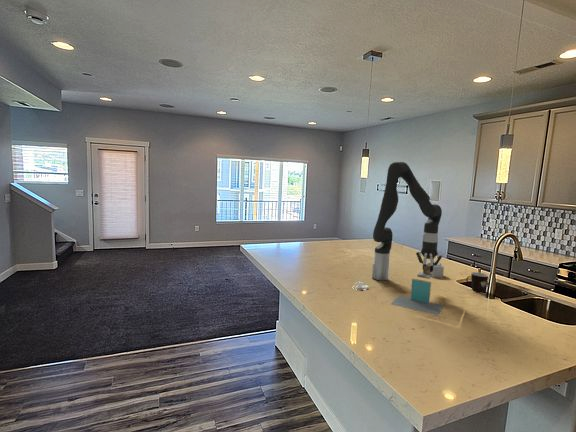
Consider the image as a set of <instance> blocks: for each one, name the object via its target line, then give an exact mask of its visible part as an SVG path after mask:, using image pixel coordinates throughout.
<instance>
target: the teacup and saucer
mask: <svg viewBox="0 0 576 432" xmlns="http://www.w3.org/2000/svg"><path fill="white" fill-rule="evenodd" d="M354 286H356V287H355V289H354V288H353V287H354ZM352 289H353V290H356V291H358V290H363V291H367V289H369V285H363V281H359V280H358V281H356V282H355V284H354V285H353V286H352ZM357 289H358V290H357Z"/></svg>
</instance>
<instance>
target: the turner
mask: <svg viewBox="0 0 576 432" xmlns="http://www.w3.org/2000/svg"><path fill="white" fill-rule="evenodd" d="M430 266H431V263H427V264H426V266H424V268H423V267H422V272H421V271H420V272H419V273H417V274H416V275H417V277H418V278H422V279H427V280H429V279H431V278H432V277H431V276H432V274H430V273H431V272H430Z"/></svg>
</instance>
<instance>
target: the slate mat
mask: <svg viewBox="0 0 576 432" xmlns="http://www.w3.org/2000/svg"><path fill="white" fill-rule="evenodd" d="M390 305H394V306H398V307H402V308H406V309H410V310H413V311H418V312H422V313H426V314H429V315H434V316H435V315H436V316H439V314H440V313H441V310H442V309H443V307H444V304H441V303H436V302H432V301H430V303H424V302H420V301H415V300H411V296H410V297H409V296H404V295H400V294H399V295H398V296H397V297H396V298H395V299H394V300H392V302H391V303H390Z"/></svg>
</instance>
